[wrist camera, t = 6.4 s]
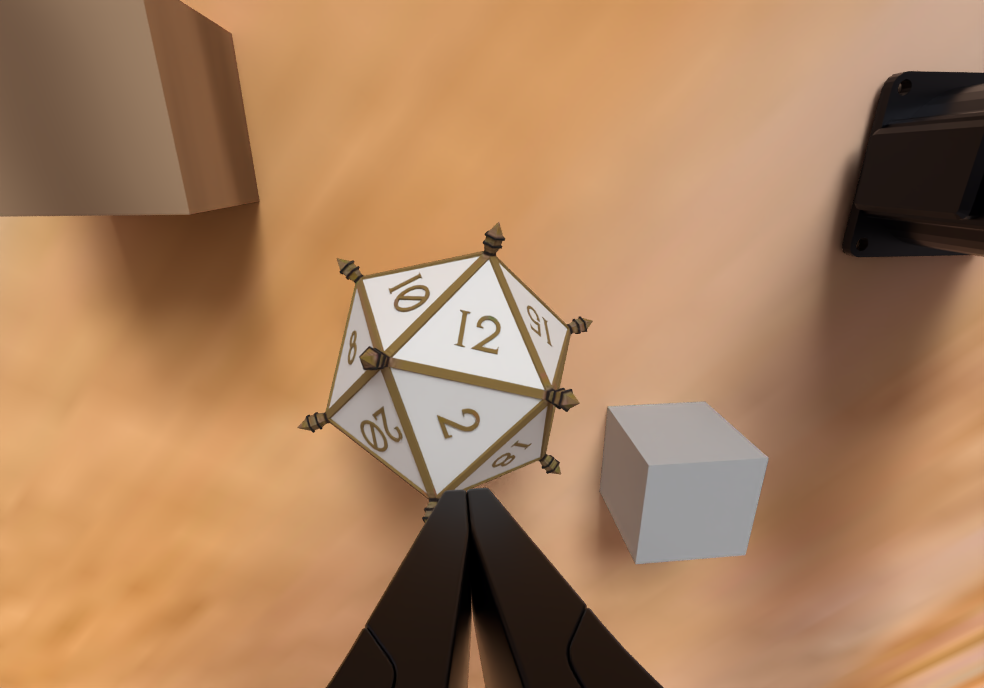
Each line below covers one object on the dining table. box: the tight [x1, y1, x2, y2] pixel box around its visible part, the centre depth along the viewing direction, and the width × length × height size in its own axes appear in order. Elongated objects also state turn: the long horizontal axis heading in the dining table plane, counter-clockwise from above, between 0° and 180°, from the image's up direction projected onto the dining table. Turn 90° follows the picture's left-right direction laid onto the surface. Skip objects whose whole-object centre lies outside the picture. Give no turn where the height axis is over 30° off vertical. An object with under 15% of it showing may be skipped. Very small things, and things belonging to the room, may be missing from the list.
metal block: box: [0, 0, 259, 216], centre depth 13 cm, size 5×5×5 cm
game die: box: [298, 222, 593, 523], centre depth 15 cm, size 9×8×10 cm
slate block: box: [600, 402, 769, 564], centre depth 20 cm, size 4×4×4 cm
